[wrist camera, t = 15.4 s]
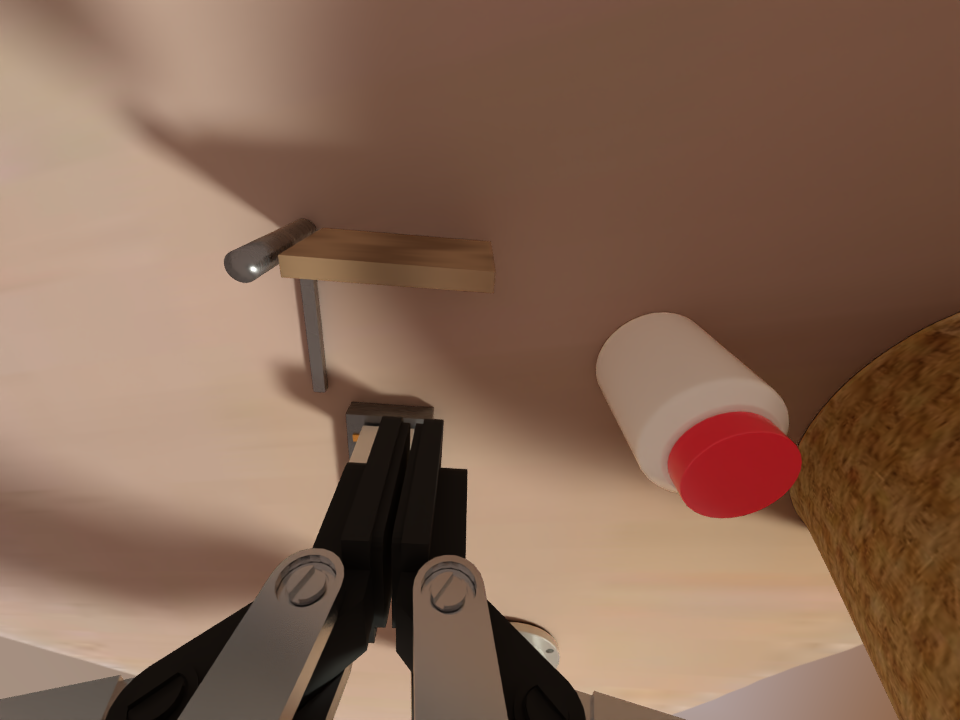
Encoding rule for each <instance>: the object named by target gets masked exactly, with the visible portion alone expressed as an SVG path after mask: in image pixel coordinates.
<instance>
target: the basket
mask: <svg viewBox="0 0 960 720" xmlns="http://www.w3.org/2000/svg"><path fill="white" fill-rule="evenodd" d="M798 449H799V451H800V453H801V459H802V465H801V471H800V473H799V476H798V478H797V480H796V481H795V483H794V484H793V486H792V487H791V488H790V496H791V500H792V504H793V506H794V508H795V510H796V512H797V514H798V515H799V517H800V518H801V520H802V521H803V522H804V523H805V524H806V526H807V528H808V529H809V531H810V533H811V535H812V537H813V539H814V541H815V543H816V545H817V547H818V549H819V551H820V553H821V556H822V558H823V560H824V562H825V564H826V566H827V568H828V570H829V572H830V574H831V576H832V578H833V580H834V583H835V585H836V587H837V589H838V591H839V593H840V595H841V597H842V599H843V602H844V604H845V606H846V608H847V610H848V612H849V614H850V616H851V618H852V621H853V623H854V625H855V627H856V629H857V631H858V633H859V635H860V637H861V640H862V642H863V644H864V646H865V648H866V650H867V652H868V654H869V656H870V659H871V661H872V663H873V665H874V667H875V669H876V672H877V674H878V676H879V678H880V680H881V682H882V684H883V687H884V689H885V691H886V693H887V695H888V697H889V699H890V701H891V704H892V706H893V708H894V710H895V712H896V714H897V717H898V719H899V720H960V312H959V313H957V314H955V315H952V316H950V317H948V318H945V319H943V320H941V321H939V322H936V323H934V324H932V325H930V326H928V327H926V328H924V329H922V330H921V331H919V332H917V333H915V334H913V335H912V336H910V337H908V338H907V339H905V340H903V341H902V342H900V343H899V344H897V345H895V346H894V347H892V348H891V349H889V350H888V351H886V352H885V353H883V354H882V355H881V356H879V357H878V358H876V359H875V360H874V361H872V362H871V363H870V364H868V365H867V366H866V367H864V368H863V369H862V370H861V371H860V372H858V373H857V374H856V375H855V376H854V377H852V378H851V379H850V380H849V381H848V382H847V383H846V384H845V385H844V386H843V387H842V388H841V389H840V390H839V391H838V392H837V393H835V395H834V396H833V397H832V398H831V399H830V400H829V401H828V403H827V404H826V405H825V406H824V407H823V408H822V409H821V411H820V412H819V413H818V415H817V416H816V417H815V419H814V420H813V421H812V423H811V424H810V426H809V428H808V429H807V431H806V432H805V434H804V436H803V438H802V440H801V442H800V444H799V446H798Z"/></svg>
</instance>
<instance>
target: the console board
mask: <svg viewBox="0 0 960 720" xmlns="http://www.w3.org/2000/svg"><path fill="white" fill-rule="evenodd" d="M433 413H434V407H419V406H404V405H389V404H374V403H359V402H351V404H350V406H349V408H348V411H347V413H346V423H347V435H348V447H349V460H350V458H351V455H352V453H353V450H354V448H355V445H356V442H357V440H358V437H359V435H360V432H361V429H362V427H363V425H364V426H379V425H380V422H381V419H382V417H383V416H394V417H403V419H404V422H405V423H410V426H411V429H414V430H415V425H416V423H420V424H423V422H424V419H433Z"/></svg>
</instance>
